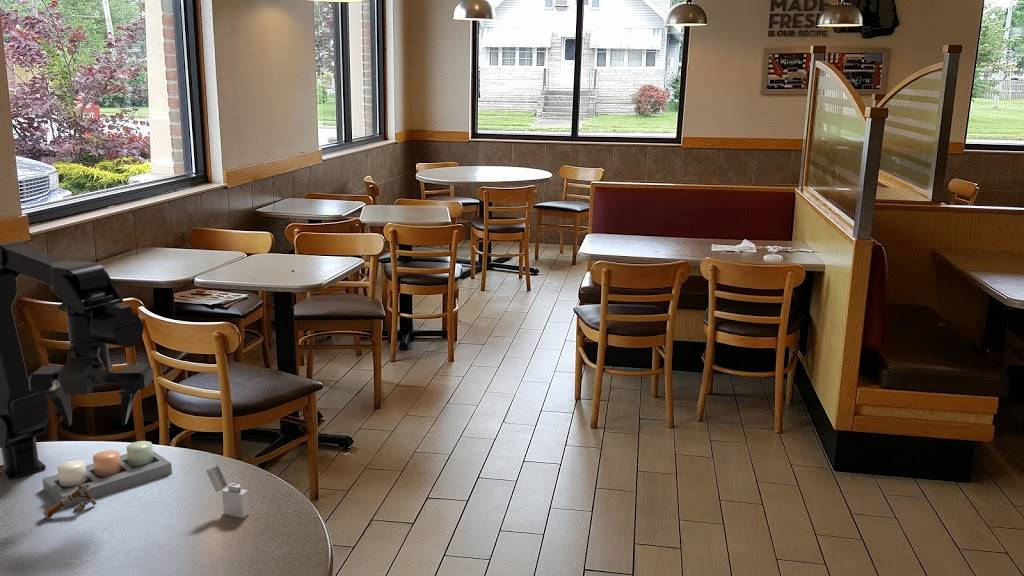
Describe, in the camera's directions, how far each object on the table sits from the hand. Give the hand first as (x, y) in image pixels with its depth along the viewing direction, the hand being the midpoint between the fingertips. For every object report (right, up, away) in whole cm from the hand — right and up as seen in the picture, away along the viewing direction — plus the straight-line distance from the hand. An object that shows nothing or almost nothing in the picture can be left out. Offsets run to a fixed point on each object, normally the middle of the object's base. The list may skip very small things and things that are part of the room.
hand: (97, 424), depth 151 cm
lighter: (+24, -15, -3) cm, 28 cm away
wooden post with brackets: (-3, -15, -3) cm, 15 cm away
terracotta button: (-2, -10, +8) cm, 12 cm away
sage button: (+2, -9, +12) cm, 15 cm away
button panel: (-2, -12, +8) cm, 14 cm away
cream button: (-6, -11, +4) cm, 13 cm away
